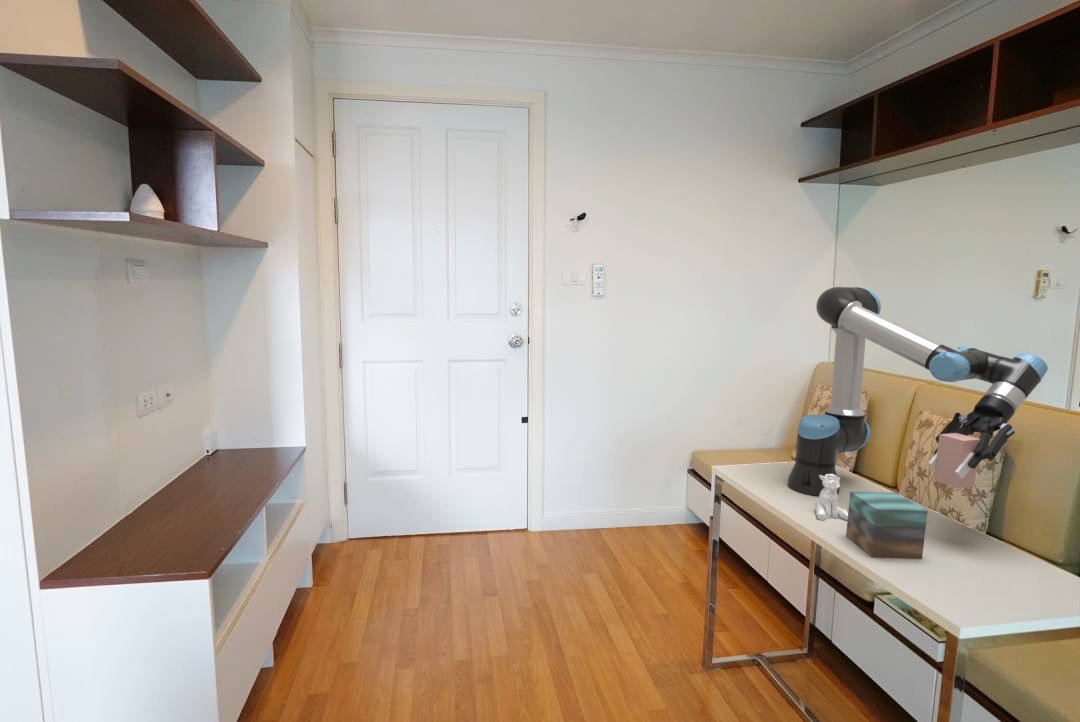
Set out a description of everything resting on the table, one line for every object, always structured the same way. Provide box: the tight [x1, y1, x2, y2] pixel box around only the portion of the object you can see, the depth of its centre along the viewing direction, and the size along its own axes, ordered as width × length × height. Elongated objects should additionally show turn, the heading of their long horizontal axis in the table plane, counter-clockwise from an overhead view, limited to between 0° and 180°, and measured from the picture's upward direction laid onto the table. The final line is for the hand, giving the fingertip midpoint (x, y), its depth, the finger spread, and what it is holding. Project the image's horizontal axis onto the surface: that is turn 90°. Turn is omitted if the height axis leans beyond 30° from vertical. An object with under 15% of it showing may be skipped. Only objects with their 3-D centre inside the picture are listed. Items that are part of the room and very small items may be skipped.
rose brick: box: [933, 433, 981, 489], centre depth 144 cm, size 6×6×12 cm
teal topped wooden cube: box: [845, 491, 928, 560], centre depth 143 cm, size 12×12×12 cm
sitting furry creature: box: [815, 474, 848, 521], centre depth 163 cm, size 10×9×12 cm
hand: (945, 470), depth 143 cm, fingers closed on rose brick, 6 cm apart
